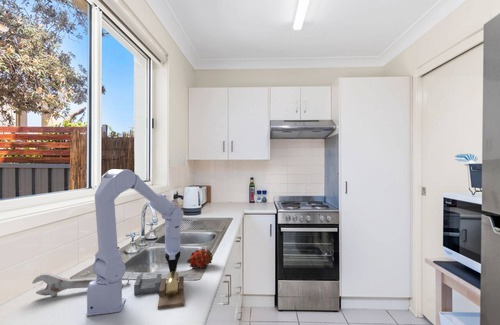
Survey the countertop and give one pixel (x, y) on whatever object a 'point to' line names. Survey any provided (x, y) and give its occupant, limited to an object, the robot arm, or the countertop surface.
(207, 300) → the countertop surface
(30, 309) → the countertop surface
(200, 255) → the dragon fruit
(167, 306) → the brown wooden cradle
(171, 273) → the brass axle
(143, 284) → the v block
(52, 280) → the wrench
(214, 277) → the countertop surface
